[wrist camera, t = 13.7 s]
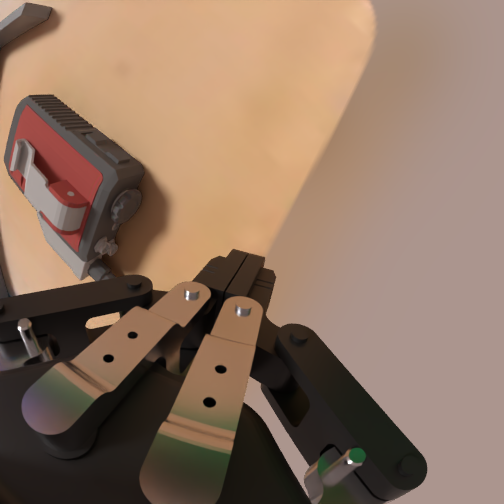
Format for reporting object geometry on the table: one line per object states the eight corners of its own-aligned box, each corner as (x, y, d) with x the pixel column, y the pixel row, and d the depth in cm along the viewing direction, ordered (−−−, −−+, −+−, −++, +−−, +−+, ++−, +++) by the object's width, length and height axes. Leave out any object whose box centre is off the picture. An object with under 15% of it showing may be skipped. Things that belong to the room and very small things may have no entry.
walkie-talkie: (20, 179, 17) (186, 339, 18) (-19, 192, 13) (156, 383, 14) (47, 84, 13) (262, 251, 14) (2, 85, 9) (239, 294, 10)
